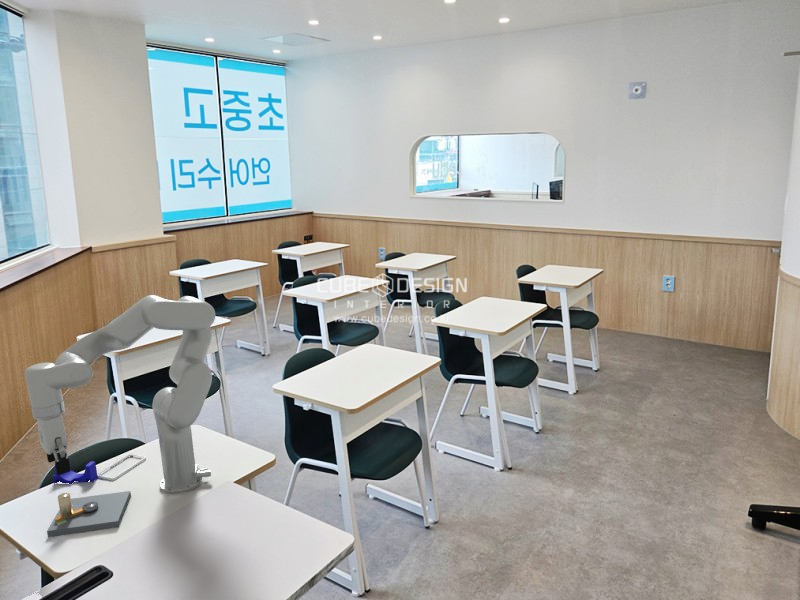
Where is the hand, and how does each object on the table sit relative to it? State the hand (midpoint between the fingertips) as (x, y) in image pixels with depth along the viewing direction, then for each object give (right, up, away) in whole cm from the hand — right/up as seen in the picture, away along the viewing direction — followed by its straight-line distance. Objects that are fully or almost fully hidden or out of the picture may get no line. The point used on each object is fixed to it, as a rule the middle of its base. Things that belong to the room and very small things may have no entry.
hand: (59, 466), depth 164 cm
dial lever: (+2, -15, +5) cm, 16 cm away
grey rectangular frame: (+1, -11, +35) cm, 37 cm away
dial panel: (+5, -16, +8) cm, 19 cm away
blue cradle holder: (-10, -13, +28) cm, 32 cm away
